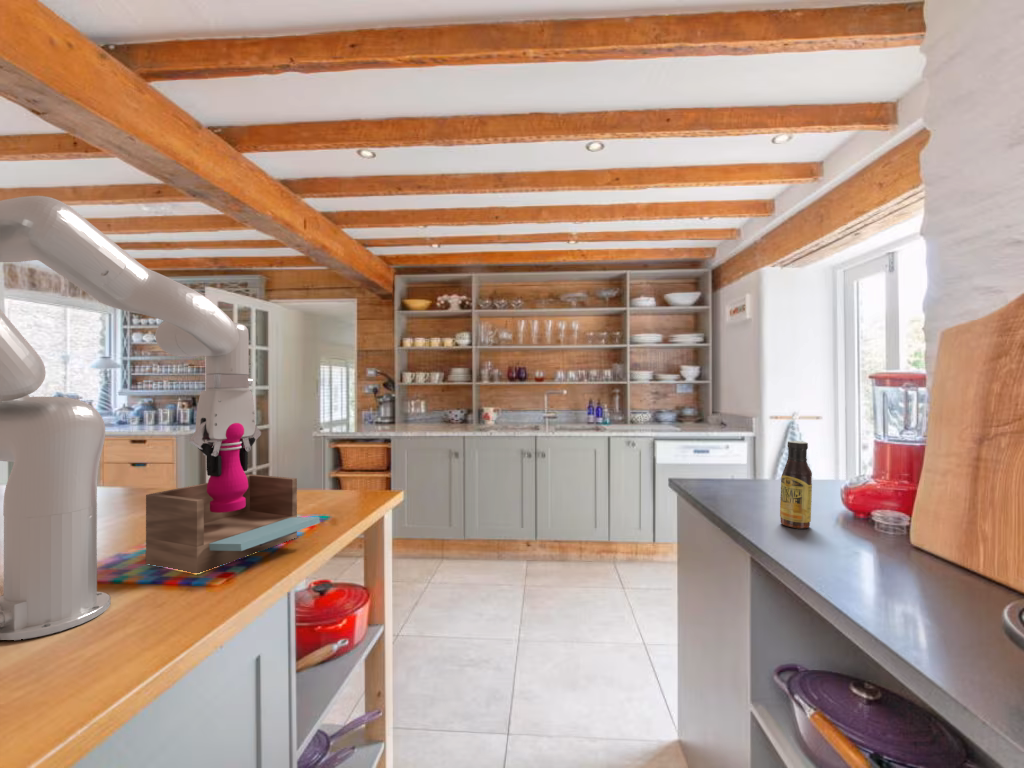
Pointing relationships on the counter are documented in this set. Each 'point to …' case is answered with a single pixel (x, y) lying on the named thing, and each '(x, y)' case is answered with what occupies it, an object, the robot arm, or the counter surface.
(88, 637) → the counter surface
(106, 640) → the counter surface
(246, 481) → the pepper mill
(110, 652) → the counter surface
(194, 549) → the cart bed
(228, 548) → the panel
